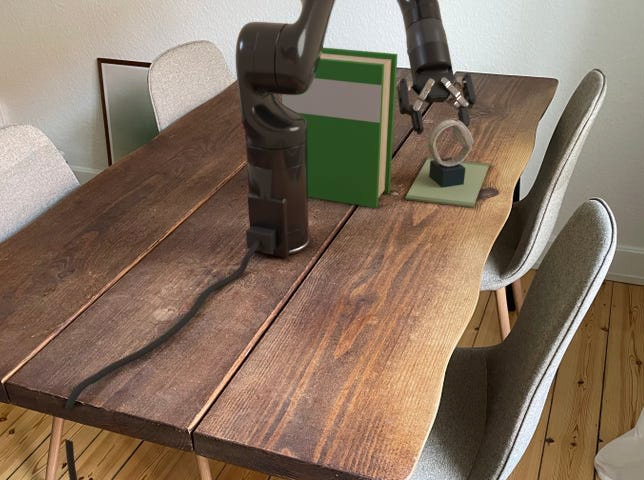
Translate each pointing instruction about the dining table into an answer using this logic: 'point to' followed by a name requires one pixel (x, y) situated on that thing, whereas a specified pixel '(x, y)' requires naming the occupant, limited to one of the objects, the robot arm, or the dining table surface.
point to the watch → (449, 168)
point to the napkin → (452, 195)
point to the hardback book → (349, 125)
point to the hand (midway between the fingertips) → (442, 130)
